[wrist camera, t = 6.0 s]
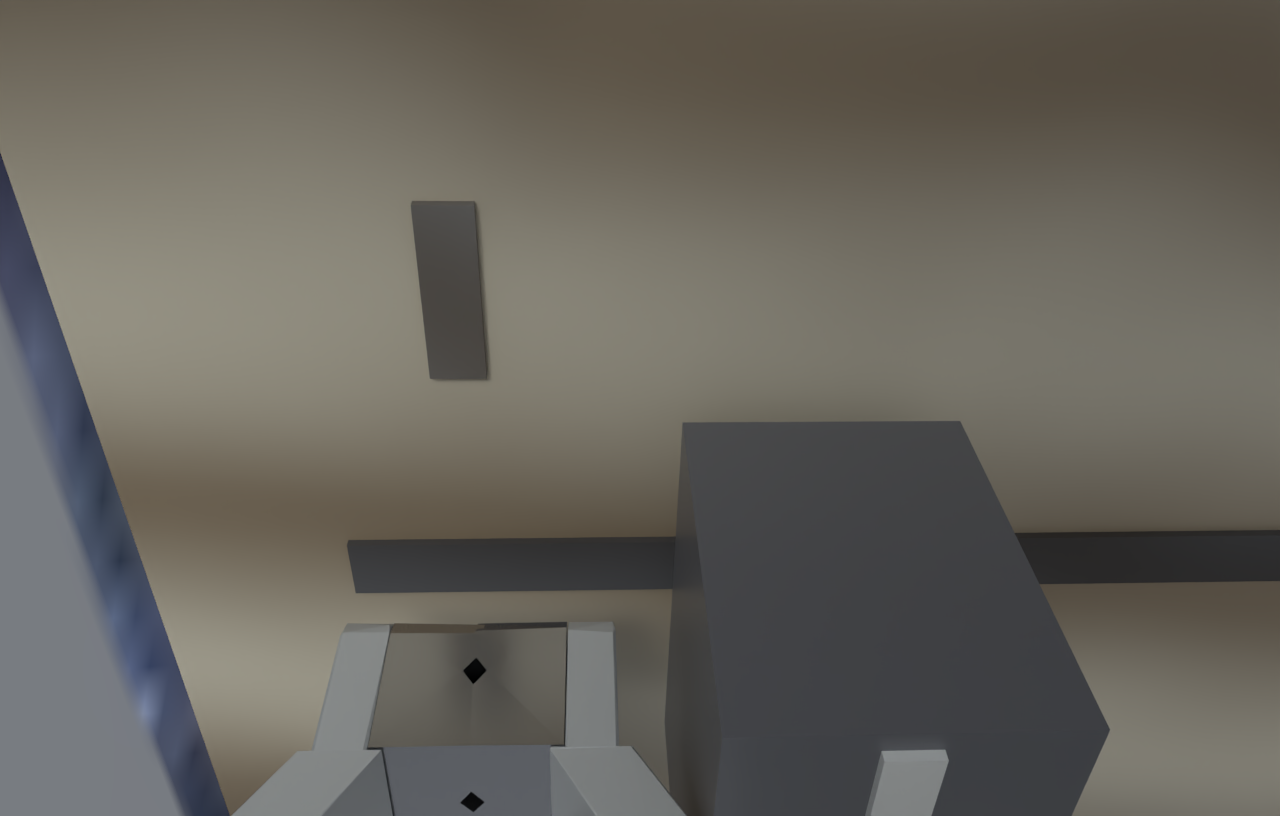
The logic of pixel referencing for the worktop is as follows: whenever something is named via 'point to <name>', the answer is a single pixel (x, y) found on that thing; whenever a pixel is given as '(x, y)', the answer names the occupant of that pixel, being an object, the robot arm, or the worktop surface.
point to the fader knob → (862, 632)
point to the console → (667, 318)
